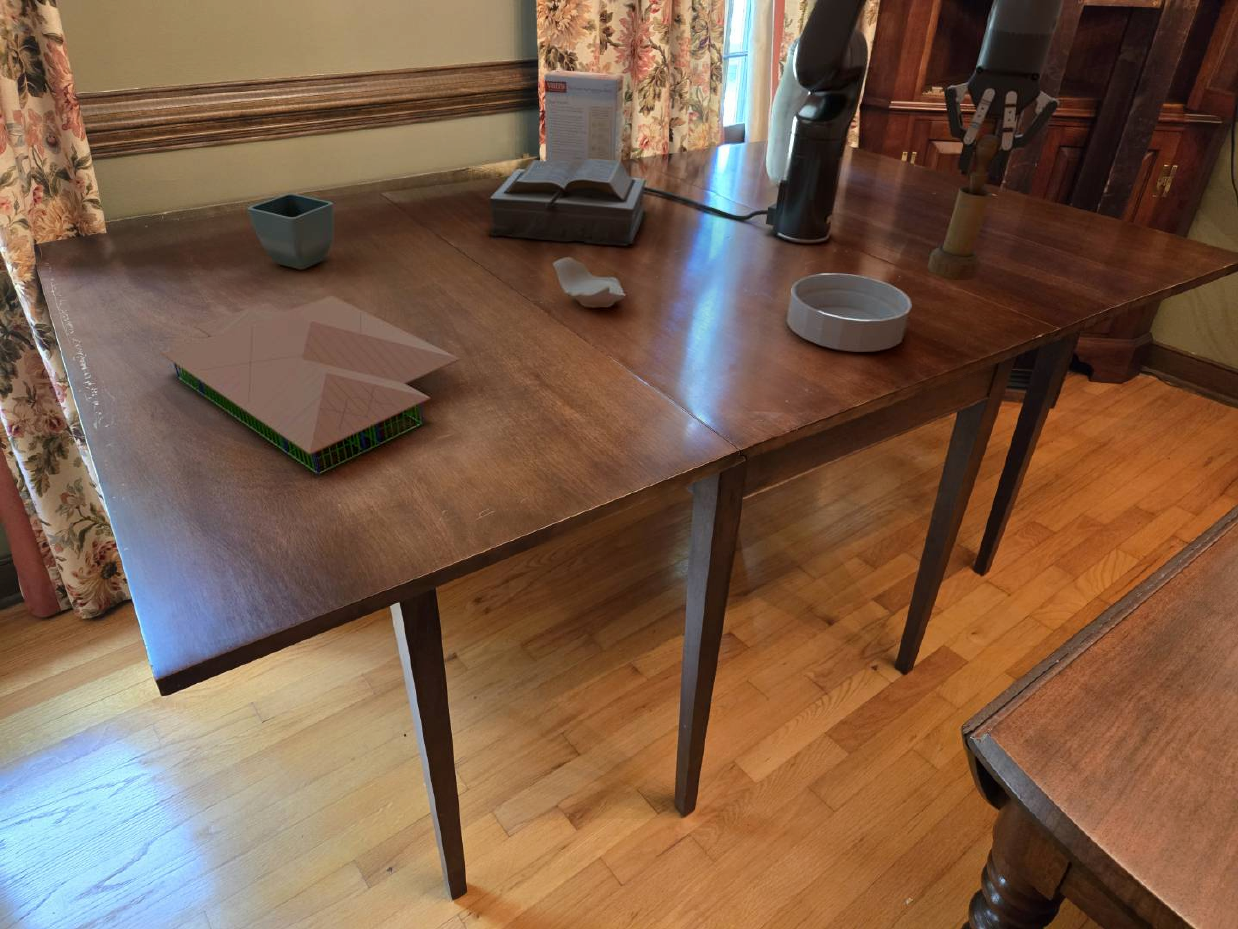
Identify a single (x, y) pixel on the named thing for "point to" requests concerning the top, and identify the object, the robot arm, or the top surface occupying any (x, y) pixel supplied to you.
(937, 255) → the mortar and pestle
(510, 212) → the bible
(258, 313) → the house
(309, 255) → the flower pot
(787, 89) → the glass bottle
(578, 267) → the pottery shard
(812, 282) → the pan
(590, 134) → the cracker box
